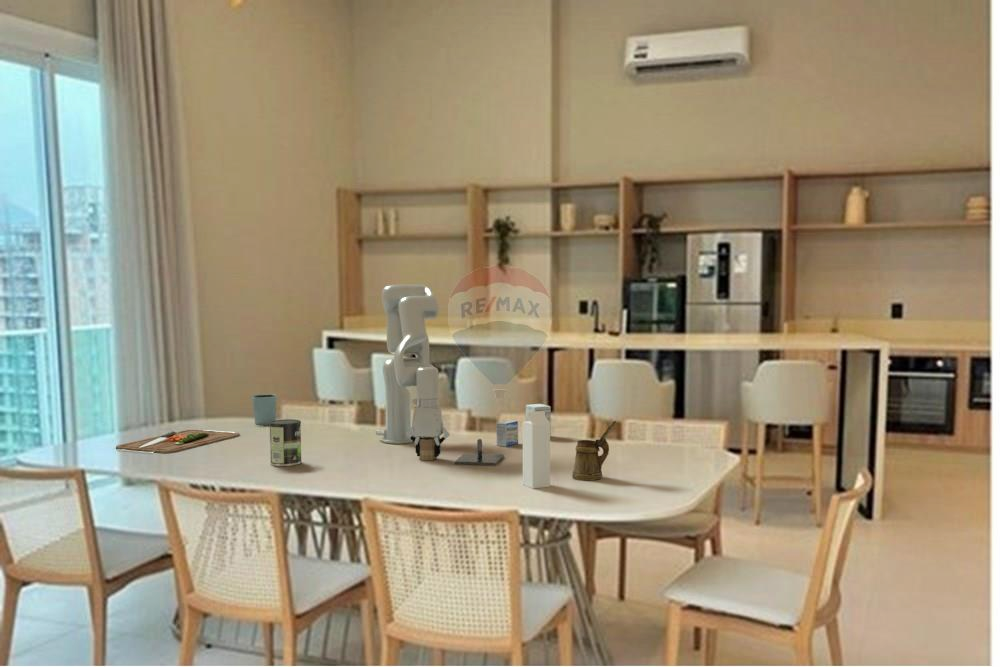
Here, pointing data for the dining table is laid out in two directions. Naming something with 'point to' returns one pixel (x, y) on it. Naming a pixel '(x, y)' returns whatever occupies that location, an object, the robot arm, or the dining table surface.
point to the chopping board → (176, 441)
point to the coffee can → (285, 442)
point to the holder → (479, 457)
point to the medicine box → (507, 433)
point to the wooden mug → (591, 457)
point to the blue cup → (264, 408)
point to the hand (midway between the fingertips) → (428, 455)
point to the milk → (536, 450)
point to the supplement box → (540, 408)
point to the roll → (427, 448)
